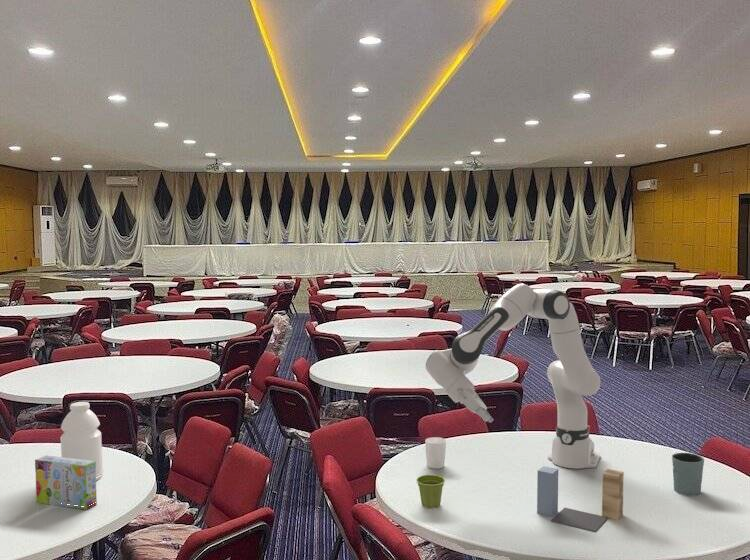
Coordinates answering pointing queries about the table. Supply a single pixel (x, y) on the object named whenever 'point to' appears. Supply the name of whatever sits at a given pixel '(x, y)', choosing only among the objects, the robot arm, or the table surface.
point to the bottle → (82, 436)
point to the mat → (579, 519)
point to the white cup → (435, 452)
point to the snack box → (66, 482)
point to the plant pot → (430, 490)
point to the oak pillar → (612, 494)
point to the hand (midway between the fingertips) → (489, 420)
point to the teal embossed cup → (687, 473)
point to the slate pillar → (547, 491)
